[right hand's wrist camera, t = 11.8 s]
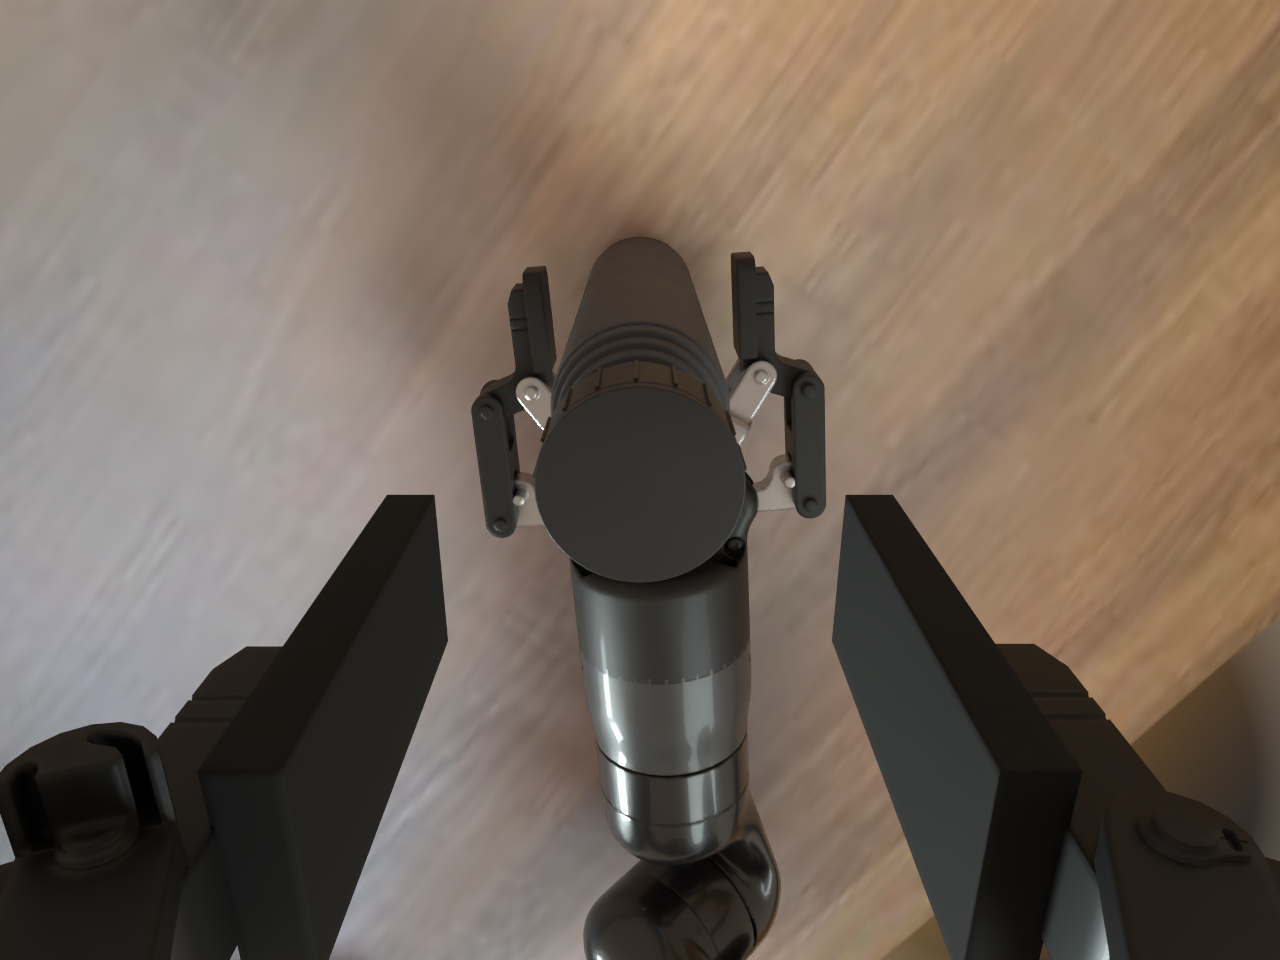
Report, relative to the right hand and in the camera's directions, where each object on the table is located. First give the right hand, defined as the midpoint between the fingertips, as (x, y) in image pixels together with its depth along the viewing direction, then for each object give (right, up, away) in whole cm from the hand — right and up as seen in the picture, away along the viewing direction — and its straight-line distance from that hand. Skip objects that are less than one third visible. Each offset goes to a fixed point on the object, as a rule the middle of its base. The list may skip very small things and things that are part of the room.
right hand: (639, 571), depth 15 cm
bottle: (0, +10, +25) cm, 27 cm away
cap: (0, +1, +4) cm, 4 cm away
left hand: (0, +10, +18) cm, 21 cm away
